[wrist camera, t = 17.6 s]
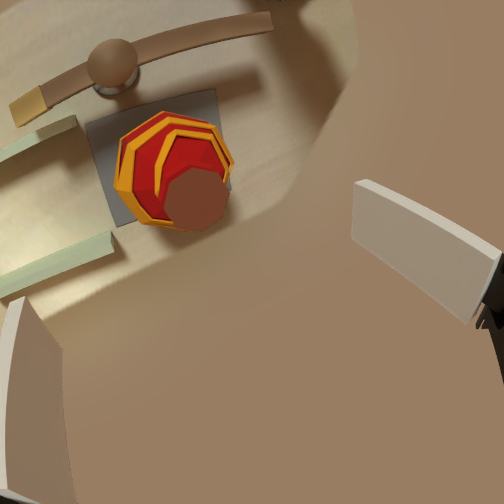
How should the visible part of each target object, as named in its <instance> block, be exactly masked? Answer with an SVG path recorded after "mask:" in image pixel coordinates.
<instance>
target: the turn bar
mask: <svg viewBox="0 0 504 504" xmlns="http://www.w3.org/2000/svg"><path fill="white" fill-rule="evenodd" d="M273 30H274V27H273V23H272V19H271V16H270V12H269V11H265V12H257V13H249V14H242V15H236V16H230V17H224V18H219V19H214V20H209V21H204V22H200V23H195V24H191V25H187V26H183V27H180V28H176V29H172V30H169V31H165V32H162V33H159V34H156V35H153V36H149V37H146V38H143V39H141V40H138V41H135V42H132V43H129V42H127V41H125V40H122V39H111V40H107V41H104V42H102V43H101V44H99V45H98V46H97V47H96V48H95V49H94V50H93V51H92V52H91V54H90V56H89V58H88V61H87V62H84V63H82V64H80V65H78V66H76V67H74V68H72V69H70V70H68V71H66V72H65V73H63V74H61V75H59V76H57V77H55V78H53V79H52V80H50V81H48V82H46V83H45V84H43V85H41V86H37V87H36V88H34V89H33V90H31V91H29V92H28V93H26V94H25V95H23V96H22V97H20V98H19V99H17V100H16V101H14V102H13V103H11V104H10V105H9V108H10V111H11V114H12V117H13V119H14V122H15V125H16V127H17V128H19V127H22V126H25V125H26V124H28V123H30V122H31V121H33V120H34V119H36V118H37V117H39V116H41V115H42V114H44V113H46V112H47V111H49V110H51V109H52V108H53V107H54V106H55V105H57V104H59V103H61V102H63V101H64V100H66V99H68V98H70V97H72V96H74V95H76V94H78V93H80V92H81V91H83V90H86V89H88V88H90V87H92V86H94V85H96V84H98V85H99V86H102V87H106V88H113V87H117V86H120V85H122V84H123V83H125V82H126V81H127V80H128V79H129V78H130V77H131V75H132V74H133V72H134V70H135V68H136V67H138V66H141V65H144V64H146V63H149V62H152V61H155V60H158V59H161V58H164V57H167V56H170V55H173V54H176V53H179V52H183V51H186V50H190V49H193V48H197V47H201V46H205V45H209V44H213V43H217V42H221V41H226V40H230V39H235V38H240V37H246V36H251V35H257V34H263V33H266V32H269V31H273Z"/></svg>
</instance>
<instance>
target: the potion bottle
mask: <svg viewBox="0 0 504 504" xmlns="http://www.w3.org/2000/svg"><path fill="white" fill-rule="evenodd" d="M122 140H124V141H123V145H122V149H121V142H122ZM120 149H121V154H120ZM230 164H231V165H232V166H231V169H230V171H229V166H230ZM233 165H234V161H233V159H232V157H231V155H230V152H229V150H228V148H227V146H226V144H225V142H224V140H223V138H222V136H221V134H220V132H219V130H218V128H217V126H215V125H211V124H210V123H208V122H206V121H204V120H200V119H196V118H192V117H187V116H183V115H179V114H174V113H170V112H165V111H162V112H160V113H158V114H157V115H155V116H154V117H152V118H150V119H149V120H147V121H146V122H144V123H143V124H141V125H140V126H138V127H137V128H135V129H134V130H132V131H131V132H129V133H128V134H126V135H125V136H124V137H122V138H121V139H120V144H119V151H118V157H117V163H116V170H115V177H114V184H113V187H114V189H115V190H116V192H117V193H118V195H119V196H120V198H121V199H122V201H123V202H124V203H125V205H126V206H127V207H128V208H129V210H130V211H131V212H132V213H133V215H134V216H135V217H136V218H137V219H138V221H139V222H140V223H141V224H144V225H152V226H160V227H168V228H173V229H178V230H182V231H188V230H192V231H201V232H202V231H203V230H205V229H206V228H208V227H209V226H210V225H212V224H213V223H215V222H216V221H218V220H219V219H221V218H222V217H223V214H224V211H225V208H226V204H227V201H228V198H229V194H230V193H229V191H228V189H227V188H226V186H227V183H228V180H229V177H230V174H231V171H232V168H233ZM228 171H229V174H228ZM227 174H228V177H227ZM226 178H227V180H226ZM225 181H226V183H225ZM163 224H166V225H163ZM167 225H175V226H176V227H172V226H167Z"/></svg>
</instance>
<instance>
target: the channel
mask: <svg viewBox="0 0 504 504" xmlns="http://www.w3.org/2000/svg"><path fill="white" fill-rule="evenodd" d="M75 126H77V123H76V118H75V115H71V116H69V117H66V118H64V119H61V120H59V121H57V122H54V123H52V124H50V125H47V126H45V127H43V128H41V129H39V130H37V131H34V132H32V133H30V134H28V135H26V136H24V137H22V138H20V139H18V140H16V141H15V142H13V143H11V144H9V145H7V146H5V147H3V148H2V149H0V162H2V161H4V160H5V159H7V158H9V157H11V156H13V155H15V154H17V153H19V152H21V151H23V150H25V149H27V148H29V147H31V146H33V145H35V144H37V143H39V142H41V141H43V140H46V139H48V138H50V137H52V136H55V135H57V134H59V133H62V132H64V131H66V130H69V129H71V128H74V127H75ZM113 252H115V250H114V238H113V236H112V233H111V231H108V232H105V233H103V234H100V235H97V236H95V237H92V238H90V239H87V240H85V241H82V242H80V243H77V244H75V245H72V246H70V247H67V248H65V249H62V250H60V251H57V252H55V253H53V254H50V255H48V256H46V257H43V258H41V259H39V260H36V261H34V262H32V263H29V264H27V265H25V266H23V267H21V268H18V269H16V270H14V271H12V272H10V273H7V274H5V275H3V276H1V277H0V298H2V297H5V296H7V295H9V294H11V293H14V292H16V291H18V290H21V289H23V288H25V287H28V286H30V285H32V284H35V283H37V282H40V281H42V280H44V279H47V278H49V277H52V276H54V275H57V274H59V273H62V272H64V271H67V270H69V269H72V268H74V267H77V266H79V265H82V264H84V263H87V262H90V261H92V260H95V259H97V258H100V257H103V256H105V255H108V254H111V253H113Z"/></svg>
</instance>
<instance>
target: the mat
mask: <svg viewBox="0 0 504 504" xmlns="http://www.w3.org/2000/svg"><path fill="white" fill-rule="evenodd" d="M162 111H165V112H170V113H174V114H179V115H183V116H187V117H192V118H196V119H200V120H204V121H206V122H208V123H210V124H211V125H215V126H217V128H218V130H219V132H220V134H221V136H222V129H221V123H220V117H219V111H218V104H217V98H216V92H215V89H211V90H206V91H200V92H195V93H191V94H186V95H182V96H177V97H173V98H169V99H165V100H161V101H157V102H153V103H149V104H146V105H142V106H139V107H135V108H132V109H128V110H125V111H122V112H119V113H116V114H113V115H110V116H107V117H104V118H101V119H98V120H95V121H93V122H90V123H87V124H85V128H86V132H87V136H88V140H89V143H90V147H91V151H92V154H93V158H94V161H95V165H96V168H97V171H98V174H99V178H100V181H101V184H102V187H103V190H104V193H105V196H106V199H107V202H108V205H109V208H110V211H111V214H112V216H113V219H114V222H115V225H116V227H118V226H121V225H124V224H126V223H129V222H132V221H135V220H138V219H137V218H136V217H135V216H134V215H133V213H132V212H131V211H130V210H129V208H128V207H127V206H126V205H125V203H124V202H123V201H122V199H121V198H120V196H119V195H118V193H117V192H116V190H115V189H114V187H113V184H114V177H115V170H116V163H117V157H118V151H119V144H120V139H121V138H122V137H124V136H125V135H126V134H128V133H129V132H131V131H132V130H134V129H135V128H137V127H138V126H140V125H141V124H143V123H144V122H146V121H147V120H149V119H150V118H152V117H154V116H155V115H157V114H158V113H160V112H162ZM222 138H223V136H222ZM123 141H124V140H122V142H121V149H122V145H123ZM121 149H120V154H121ZM228 174H229V172H228ZM228 174H227V177H228ZM226 180H227V178H226ZM225 183H226V181H225ZM226 188H227V189H228V190H230V189H231V184H230V178H229V180H228V183H227V186H226Z"/></svg>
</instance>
